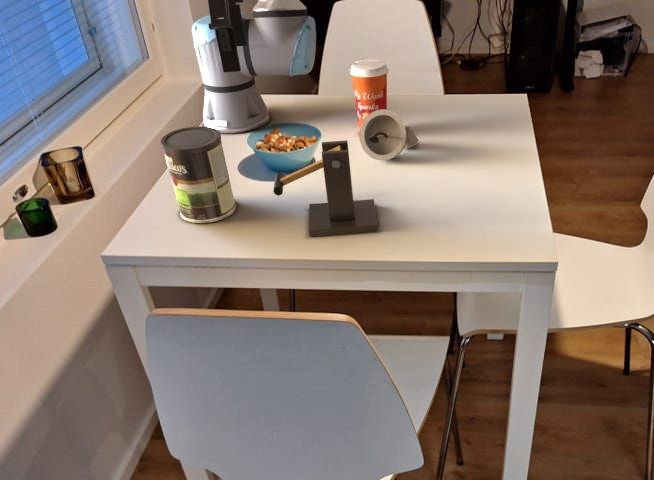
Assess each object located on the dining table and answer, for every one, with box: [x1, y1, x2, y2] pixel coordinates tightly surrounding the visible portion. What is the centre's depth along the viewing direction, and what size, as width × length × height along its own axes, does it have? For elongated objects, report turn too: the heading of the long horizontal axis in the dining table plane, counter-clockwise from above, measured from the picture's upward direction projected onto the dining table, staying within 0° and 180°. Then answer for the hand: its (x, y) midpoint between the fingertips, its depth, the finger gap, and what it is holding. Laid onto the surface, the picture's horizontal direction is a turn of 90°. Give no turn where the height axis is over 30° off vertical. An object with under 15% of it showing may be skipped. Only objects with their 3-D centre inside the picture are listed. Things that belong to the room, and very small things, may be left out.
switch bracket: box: [308, 139, 378, 238], centre depth 117 cm, size 12×10×14 cm
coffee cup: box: [349, 58, 390, 129], centre depth 147 cm, size 8×8×15 cm
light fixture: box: [359, 109, 419, 161], centre depth 140 cm, size 11×16×10 cm, turn 164°
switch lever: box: [273, 145, 342, 197], centre depth 114 cm, size 13×6×2 cm, turn 96°
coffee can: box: [159, 126, 237, 224], centre depth 121 cm, size 10×10×14 cm
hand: (235, 58), depth 113 cm, fingers open, 13 cm apart
